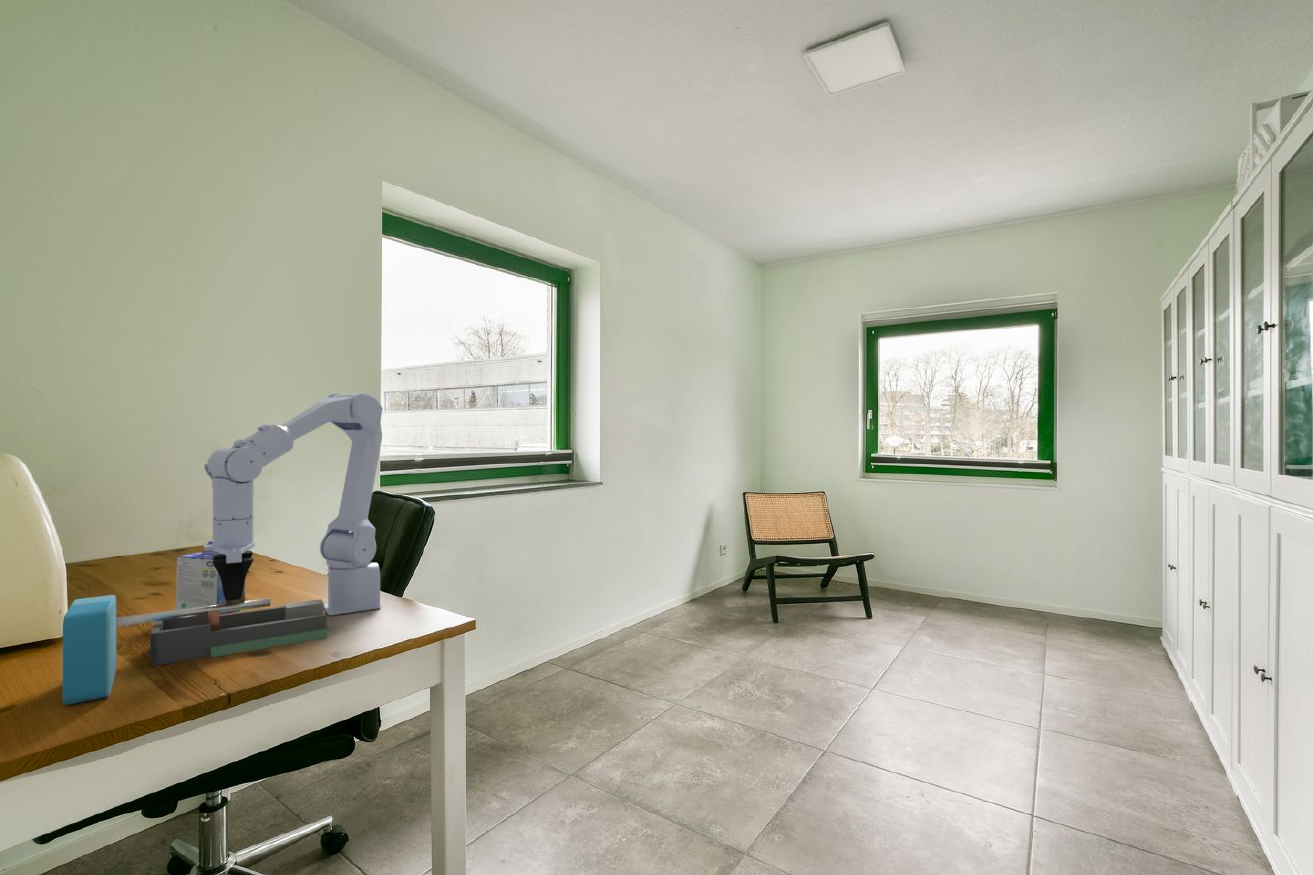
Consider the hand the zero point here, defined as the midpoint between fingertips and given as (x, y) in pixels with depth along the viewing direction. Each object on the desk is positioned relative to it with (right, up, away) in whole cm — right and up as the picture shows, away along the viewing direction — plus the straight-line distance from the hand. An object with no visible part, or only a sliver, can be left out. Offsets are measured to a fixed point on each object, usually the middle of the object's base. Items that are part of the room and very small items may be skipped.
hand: (233, 597), depth 104 cm
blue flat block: (-7, -8, -18) cm, 21 cm away
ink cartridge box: (-14, -8, +13) cm, 21 cm away
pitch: (+1, -8, +1) cm, 8 cm away
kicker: (-5, -6, -3) cm, 8 cm away
